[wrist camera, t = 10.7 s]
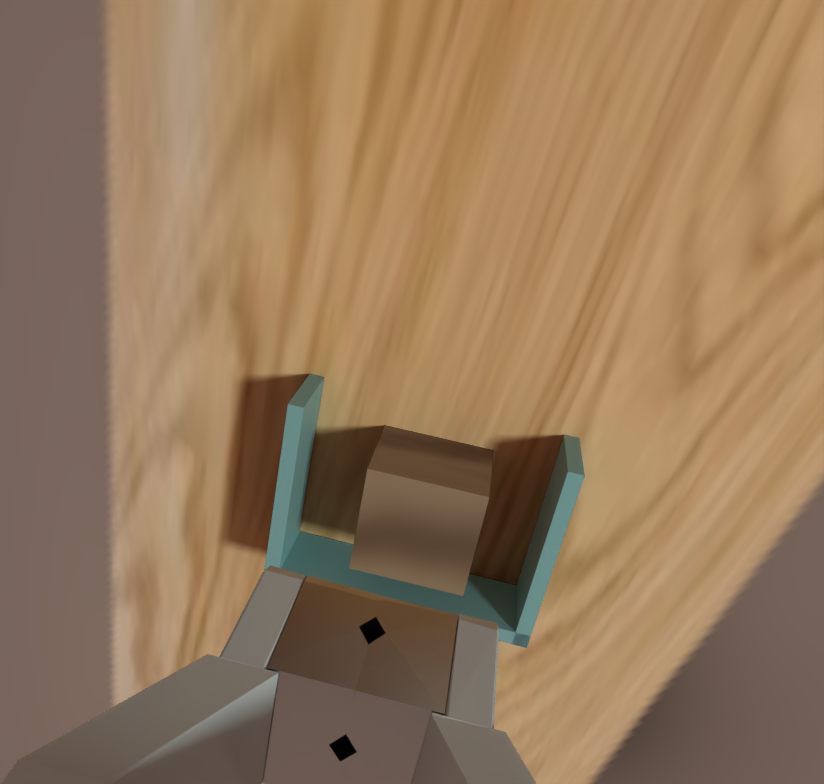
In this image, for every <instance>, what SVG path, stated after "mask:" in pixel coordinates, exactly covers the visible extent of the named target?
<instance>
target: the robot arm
mask: <svg viewBox="0 0 824 784" xmlns="http://www.w3.org/2000/svg"><path fill="white" fill-rule="evenodd" d="M498 641H499V627H498V625H497V623H496V622H491V621H487V620H483V619H478V618H474V617H470V616H466V615H461V614H458V616H457V614H454V613H450V612H446V611H442V610H438V609H434V608H430V607H426V606H422V605H418V604H414V603H410V602H405V601H401V600H397V599H393V598H389V597H385V596H381V595H377V594H374V593H370V592H367V591H363V590H359V589H356V588H352V587H349V586H345V585H342V584H338V583H334V582H331V581H327V580H324V579H320V578H316V577H313V576H309V575H308V576H306V575H303V574H299V573H296V572H292V571H289V570H285V569H281V568H278V567H274V566H271V565H270V566H269V567H268V568H267V569H266V570H265V571H264V572H263V573H262V575H261V577H260V579H259V581H258V583H257V585H256V587H255V589H254V591H253V593H252V595H251V597H250V599H249V600H248V602H247V604H246V606H245V608H244V610H243V612H242V614H241V616H240V618H239V620H238V622H237V624H236V626H235V628H234V630H233V632H232V633H231V635H230V637H229V639H228V641H227V643H226V645H225V647H224V649H223V651H222V653H221V655H220V657H217V656H212V655H208V654H207V655H205V656H204V657H202V658H200V659H198V660H196V661H195V662H193V663H191V664H189V665H187V666H186V667H184V668H182V669H180V670H179V671H177V672H175V673H173V674H171V675H170V676H168V677H166V678H164V679H162V680H161V681H159V682H157V683H155V684H153V685H152V686H150V687H148V688H146V689H145V690H143V691H141V692H139V693H137V694H136V695H134V696H132V697H130V698H128V699H127V700H125V701H123V702H121V703H119V704H118V705H116V706H114V707H112V708H111V709H109V710H107V711H105V712H103V713H102V714H100V715H98V716H96V717H94V718H93V719H91V720H89V721H87V722H86V723H84V724H82V725H80V726H79V727H77V728H75V729H73V730H71V731H70V732H68V733H66V734H64V735H63V736H61V737H59V738H57V739H55V740H53V741H52V742H50V743H48V744H46V745H44V746H43V747H41V748H39V749H37V750H35V751H34V752H32V753H30V754H28V755H27V756H25V757H23V758H21V759H20V760H18V761H17V762H16V764H15V765H14V767H13V768H12V769H11V771H10V772H9V773H8V775H7V776H6V777H5V779H4V780H3V781H2V783H1V784H536V782H535V780H534V779H533V777H532V775H531V774H530V772H529V770H528V769H527V767H526V765H525V764H524V762H523V760H522V759H521V757H520V755H519V754H518V752H517V750H516V749H515V747H514V745H513V744H512V742H511V740H510V739H509V737H508V735H507V734H506V732H503V731H500V730H496V729H493V728H494V711H495V694H496V676H497V659H498Z"/></svg>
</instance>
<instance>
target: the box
mask: <svg viewBox="0 0 824 784" xmlns="http://www.w3.org/2000/svg"><path fill="white" fill-rule="evenodd" d="M323 382H324V377H320V376H316V375H312V374H309V376H308V377H307V378H306V380H305V381H304V383H303V384H302V385H301V387H300V388H299V389H298V391H297V392H296V393H295V395H294V396H293V398H292V399H291V400H290V402H289V403H288V407H287V414H286V421H285V428H284V435H283V442H282V449H281V456H280V463H279V471H278V478H277V485H276V492H275V499H274V506H273V513H272V520H271V527H270V534H269V542H268V549H267V556H266V563H265V570H266V569H267V568H268V567H269V566H270V565H271V566H274V567H278V568H281V569H285V570H289V571H292V572H296V573H299V574H303V575H306V576H308V575H309V576H313V577H316V578H320V579H324V580H327V581H331V582H334V583H338V584H342V585H345V586H349V587H352V588H356V589H359V590H363V591H367V592H370V593H374V594H377V595H381V596H385V597H389V598H393V599H397V600H401V601H405V602H410V603H414V604H418V605H422V606H426V607H430V608H434V609H438V610H442V611H446V612H450V613H454V614H457V616H458V614H461V615H466V616H470V617H474V618H478V619H483V620H487V621H491V622H496V623H497V625H498V627H499V641H502V642H506V643H510V644H514V645H518V646H522V647H526V648H527V645H528V642H529V639H530V636H531V633H532V630H533V627H534V624H535V621H536V618H537V615H538V612H539V610H540V607H541V604H542V601H543V598H544V595H545V592H546V589H547V586H548V583H549V580H550V577H551V574H552V571H553V568H554V565H555V562H556V559H557V556H558V553H559V550H560V547H561V544H562V541H563V538H564V535H565V532H566V529H567V526H568V523H569V521H570V518H571V515H572V512H573V509H574V506H575V503H576V500H577V497H578V494H579V491H580V488H581V485H582V482H583V479H584V476H585V475H584V468H583V461H582V454H581V447H580V441H579V438H575V437H571V436H567V435H564V437H563V440H562V443H561V446H560V450H559V453H558V456H557V459H556V462H555V465H554V469H553V472H552V475H551V478H550V481H549V484H548V488H547V491H546V494H545V497H544V500H543V503H542V507H541V510H540V513H539V516H538V519H537V522H536V526H535V529H534V532H533V535H532V538H531V541H530V545H529V548H528V551H527V554H526V557H525V560H524V564H523V567H522V570H521V573H520V576H519V579H518V583H517V586H516V585H512V584H508V583H504V582H500V581H496V580H492V579H488V578H484V577H480V576H476V575H472V574H469V576H468V580H467V584H466V587H465V591H464V595H463V596H461V595H457V594H453V593H449V592H445V591H441V590H436V589H432V588H428V587H424V586H420V585H416V584H412V583H408V582H404V581H399V580H395V579H391V578H387V577H383V576H379V575H375V574H371V573H366V572H362V571H358V570H354V569H350V568H349V566H350V561H351V555H352V550H353V544H349V543H345V542H341V541H337V540H333V539H329V538H325V537H321V536H317V535H313V534H309V533H305V532H301V531H300V525H301V519H302V513H303V507H304V500H305V494H306V488H307V482H308V475H309V469H310V463H311V457H312V451H313V444H314V438H315V432H316V426H317V419H318V413H319V407H320V401H321V394H322V388H323ZM265 570H264V571H265Z"/></svg>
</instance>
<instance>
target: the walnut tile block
mask: <svg viewBox="0 0 824 784" xmlns="http://www.w3.org/2000/svg"><path fill="white" fill-rule="evenodd" d="M493 453H494V450H490V449H486V448H481V447H477V446H473V445H468V444H464V443H460V442H455V441H451V440H447V439H442V438H438V437H434V436H429V435H425V434H421V433H416V432H412V431H408V430H403V429H399V428H395V427H390V426H386V425H385V427H384V429H383V431H382V434H381V436H380V439H379V441H378V444H377V446H376V449H375V451H374V454H373V456H372V458H371V461H370V463H369V466H368V468H367V473H366V479H365V484H364V490H363V495H362V501H361V506H360V512H359V517H358V522H357V528H356V533H355V539H354V544H353V550H352V555H351V561H350V566H349V568H350V569H354V570H358V571H362V572H366V573H371V574H375V575H379V576H383V577H387V578H391V579H395V580H399V581H404V582H408V583H412V584H416V585H420V586H424V587H428V588H432V589H436V590H441V591H445V592H449V593H453V594H457V595H461V596H463V595H464V591H465V587H466V584H467V580H468V576H469V572H470V569H471V565H472V561H473V557H474V554H475V550H476V546H477V542H478V539H479V535H480V531H481V527H482V524H483V520H484V516H485V512H486V509H487V505H488V501H489V497H490V486H491V475H492V464H493Z"/></svg>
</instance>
